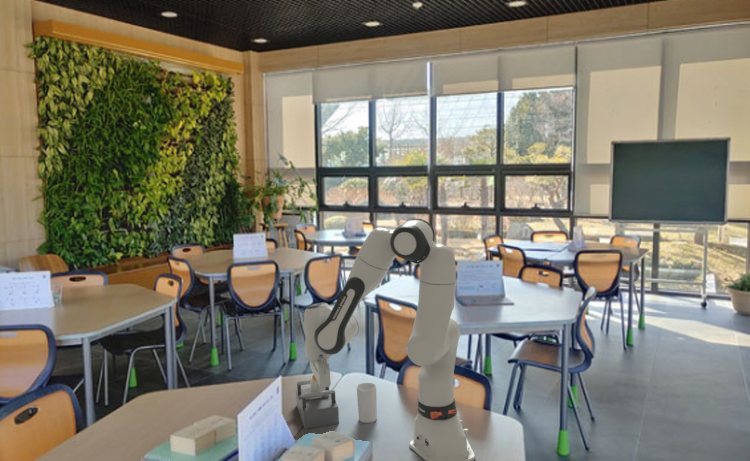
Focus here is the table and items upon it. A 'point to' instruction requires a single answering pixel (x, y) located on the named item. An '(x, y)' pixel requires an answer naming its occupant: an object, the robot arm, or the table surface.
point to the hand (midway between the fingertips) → (320, 390)
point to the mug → (367, 402)
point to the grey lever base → (316, 406)
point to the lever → (313, 386)
